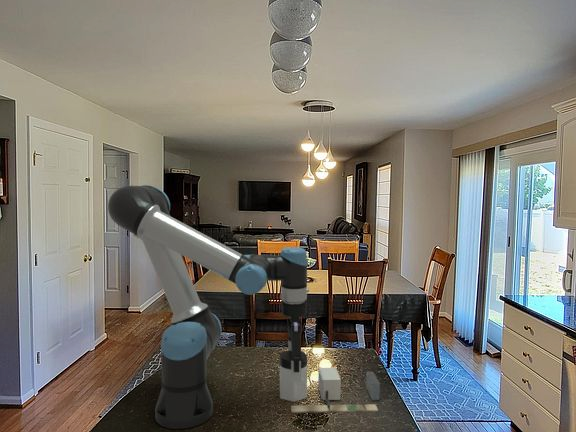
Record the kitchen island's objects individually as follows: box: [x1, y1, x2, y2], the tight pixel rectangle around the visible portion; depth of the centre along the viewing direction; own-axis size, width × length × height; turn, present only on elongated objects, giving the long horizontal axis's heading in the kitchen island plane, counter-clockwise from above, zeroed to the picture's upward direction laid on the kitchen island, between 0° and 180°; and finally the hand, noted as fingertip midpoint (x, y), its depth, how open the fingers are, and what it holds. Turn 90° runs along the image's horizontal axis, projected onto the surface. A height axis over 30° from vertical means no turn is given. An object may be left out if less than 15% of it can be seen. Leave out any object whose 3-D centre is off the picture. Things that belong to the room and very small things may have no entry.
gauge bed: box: [290, 403, 379, 414], centre depth 116 cm, size 24×3×1 cm, turn 93°
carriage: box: [317, 367, 342, 407], centre depth 122 cm, size 5×13×6 cm, turn 3°
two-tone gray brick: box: [365, 371, 381, 401], centre depth 125 cm, size 2×8×5 cm, turn 3°
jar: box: [278, 350, 308, 403], centre depth 124 cm, size 9×8×12 cm
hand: (294, 371), depth 124 cm, fingers open, 13 cm apart
